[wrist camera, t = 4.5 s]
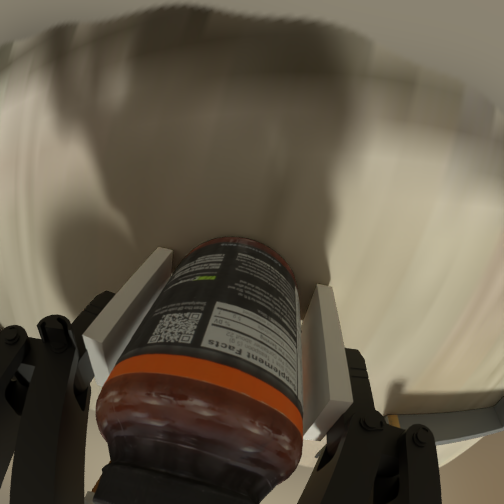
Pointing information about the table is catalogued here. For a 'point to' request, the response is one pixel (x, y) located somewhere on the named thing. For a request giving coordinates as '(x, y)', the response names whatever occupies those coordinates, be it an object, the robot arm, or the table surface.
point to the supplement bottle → (208, 385)
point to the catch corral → (455, 423)
